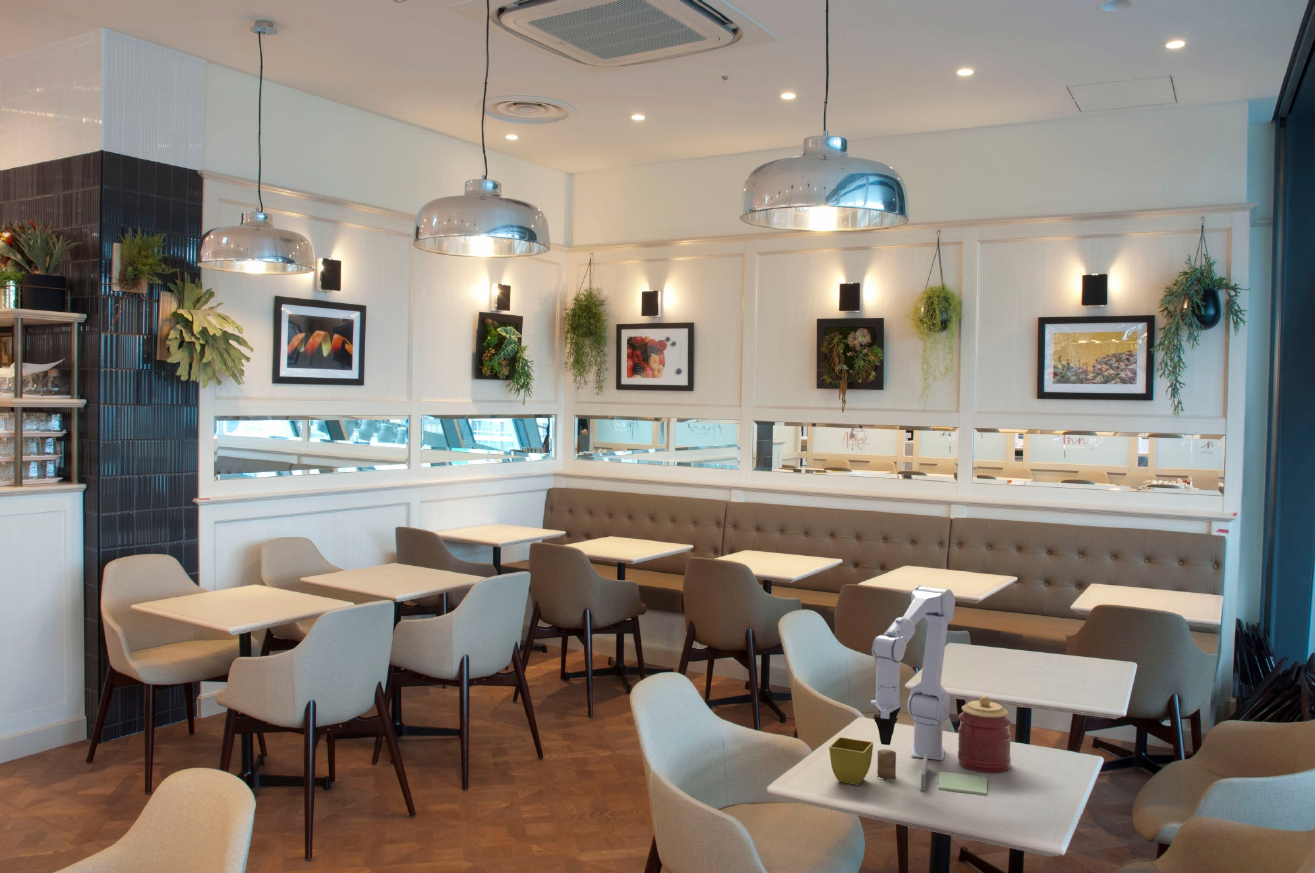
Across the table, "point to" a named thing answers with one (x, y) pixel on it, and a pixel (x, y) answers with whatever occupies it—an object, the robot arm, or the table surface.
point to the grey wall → (924, 771)
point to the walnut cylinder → (886, 764)
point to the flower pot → (850, 759)
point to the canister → (984, 737)
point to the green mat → (963, 783)
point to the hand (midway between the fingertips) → (886, 739)
